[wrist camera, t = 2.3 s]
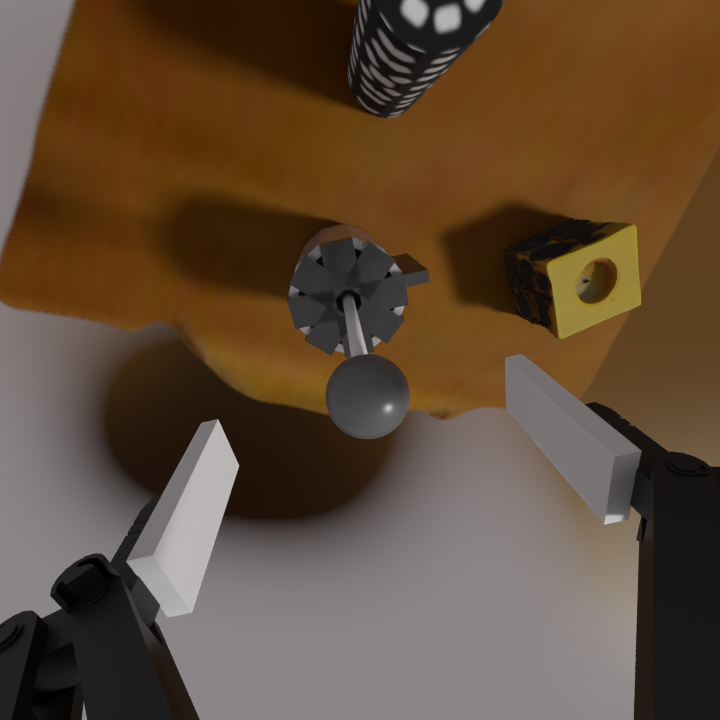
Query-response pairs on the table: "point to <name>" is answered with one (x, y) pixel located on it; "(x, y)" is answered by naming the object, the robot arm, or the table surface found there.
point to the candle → (575, 275)
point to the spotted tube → (409, 47)
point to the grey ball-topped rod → (364, 383)
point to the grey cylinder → (344, 272)
